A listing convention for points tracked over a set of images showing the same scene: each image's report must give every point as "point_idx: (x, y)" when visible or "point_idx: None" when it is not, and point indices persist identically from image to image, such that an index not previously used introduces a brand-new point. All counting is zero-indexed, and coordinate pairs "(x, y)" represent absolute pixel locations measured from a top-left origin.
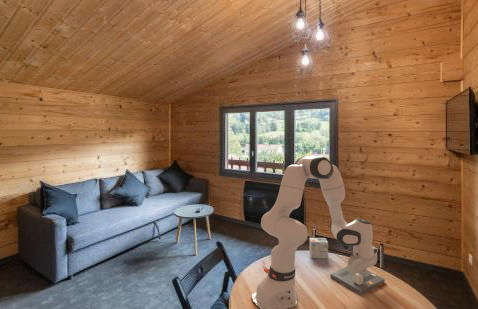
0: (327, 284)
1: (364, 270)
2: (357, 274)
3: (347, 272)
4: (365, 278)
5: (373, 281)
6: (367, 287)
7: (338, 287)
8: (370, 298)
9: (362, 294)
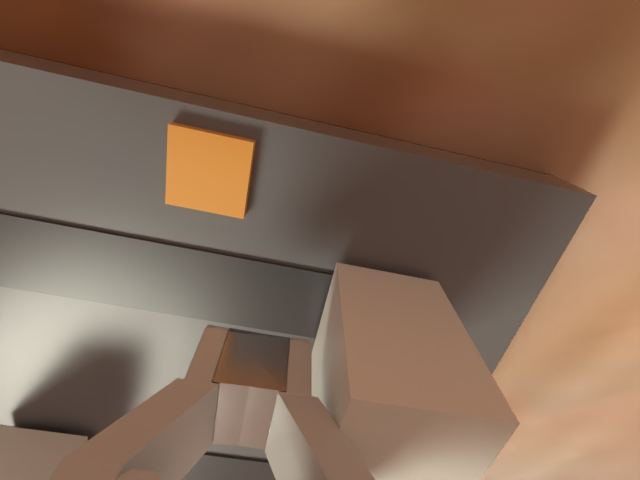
0: (529, 472)
1: (145, 470)
2: (445, 476)
3: (218, 473)
4: (143, 286)
5: (98, 154)
6: (401, 161)
7: (523, 403)
8: (563, 29)
9: (519, 168)
